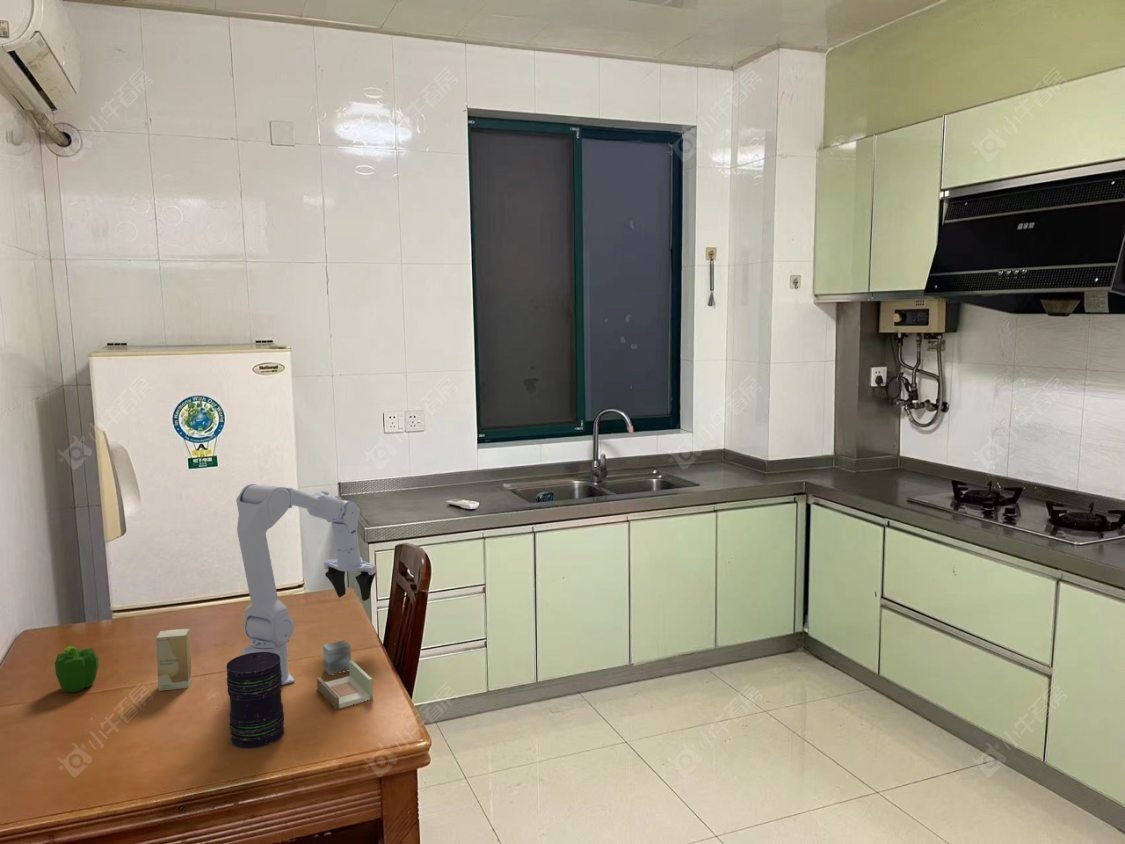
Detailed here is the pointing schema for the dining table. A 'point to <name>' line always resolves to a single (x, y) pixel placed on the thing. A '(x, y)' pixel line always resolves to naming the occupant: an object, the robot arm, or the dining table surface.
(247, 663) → the storage jar
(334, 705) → the open-front display tray
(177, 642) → the skincare box
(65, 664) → the bell pepper
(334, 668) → the slate cabinet block
